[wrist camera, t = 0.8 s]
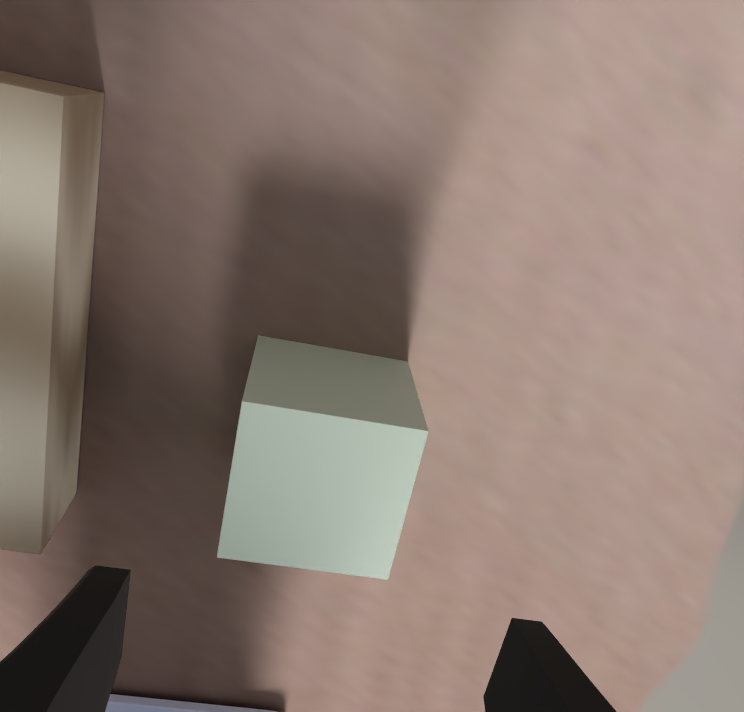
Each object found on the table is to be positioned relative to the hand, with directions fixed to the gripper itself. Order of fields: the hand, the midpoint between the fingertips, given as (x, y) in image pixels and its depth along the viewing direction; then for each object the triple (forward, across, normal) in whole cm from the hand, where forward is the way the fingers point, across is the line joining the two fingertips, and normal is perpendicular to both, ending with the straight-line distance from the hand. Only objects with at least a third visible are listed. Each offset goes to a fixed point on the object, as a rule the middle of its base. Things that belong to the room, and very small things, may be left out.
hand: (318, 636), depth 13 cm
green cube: (+9, 0, 0) cm, 9 cm away
